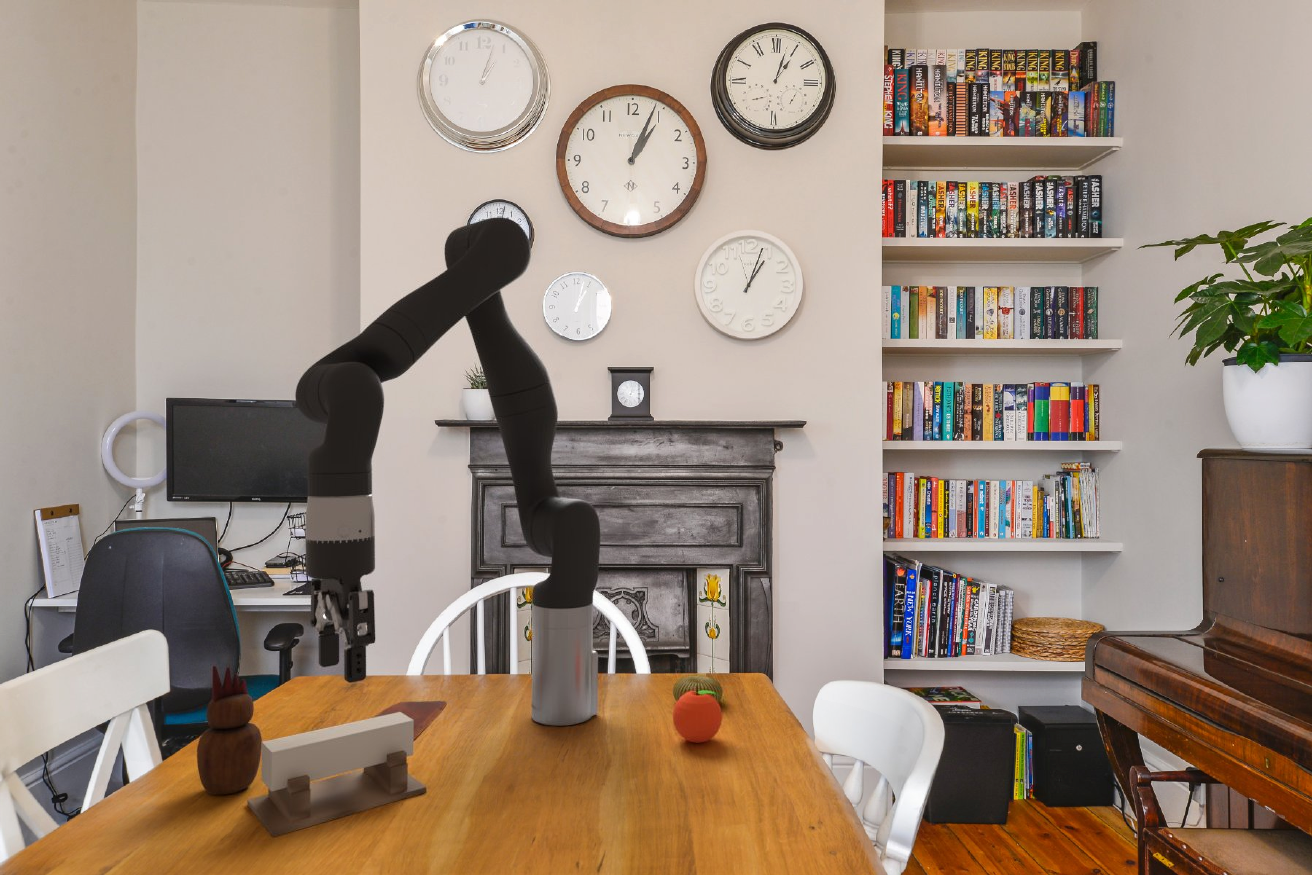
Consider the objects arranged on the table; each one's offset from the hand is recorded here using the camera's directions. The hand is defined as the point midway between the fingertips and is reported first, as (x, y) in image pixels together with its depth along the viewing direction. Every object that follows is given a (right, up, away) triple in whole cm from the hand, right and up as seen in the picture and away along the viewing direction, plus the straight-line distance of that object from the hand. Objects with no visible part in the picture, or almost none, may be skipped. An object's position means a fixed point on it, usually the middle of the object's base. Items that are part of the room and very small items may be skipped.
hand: (341, 672), depth 93 cm
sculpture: (+43, -16, +35) cm, 58 cm away
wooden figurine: (-14, -15, +2) cm, 21 cm away
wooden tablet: (-2, -16, +23) cm, 28 cm away
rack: (0, -15, 0) cm, 15 cm away
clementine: (+43, -15, +19) cm, 49 cm away
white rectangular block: (0, -11, 0) cm, 11 cm away
